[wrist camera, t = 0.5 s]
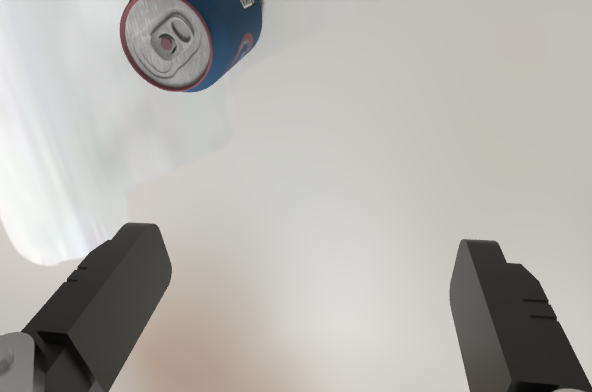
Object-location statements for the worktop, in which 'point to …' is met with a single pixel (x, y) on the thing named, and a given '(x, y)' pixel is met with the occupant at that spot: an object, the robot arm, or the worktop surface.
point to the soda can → (188, 39)
